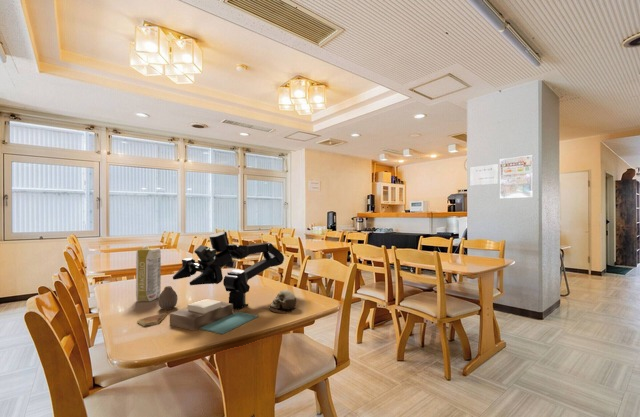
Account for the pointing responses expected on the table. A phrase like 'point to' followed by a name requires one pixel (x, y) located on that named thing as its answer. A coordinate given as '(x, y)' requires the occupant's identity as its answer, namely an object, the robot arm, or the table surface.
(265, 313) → the table surface
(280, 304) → the skull
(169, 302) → the vase
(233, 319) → the mat
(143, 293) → the juice carton
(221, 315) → the brick
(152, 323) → the shard
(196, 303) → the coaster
